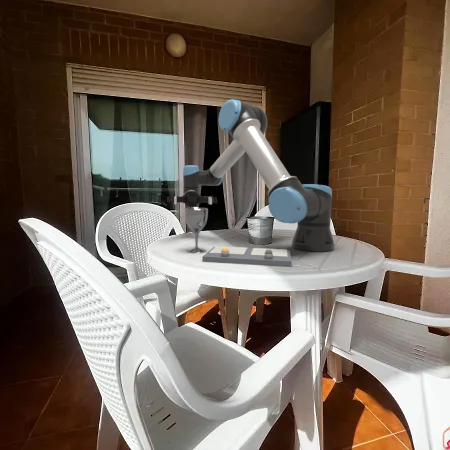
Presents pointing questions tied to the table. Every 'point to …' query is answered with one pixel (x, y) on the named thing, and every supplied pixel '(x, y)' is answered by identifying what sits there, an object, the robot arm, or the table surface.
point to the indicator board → (249, 256)
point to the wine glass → (196, 224)
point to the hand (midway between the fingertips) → (193, 200)
